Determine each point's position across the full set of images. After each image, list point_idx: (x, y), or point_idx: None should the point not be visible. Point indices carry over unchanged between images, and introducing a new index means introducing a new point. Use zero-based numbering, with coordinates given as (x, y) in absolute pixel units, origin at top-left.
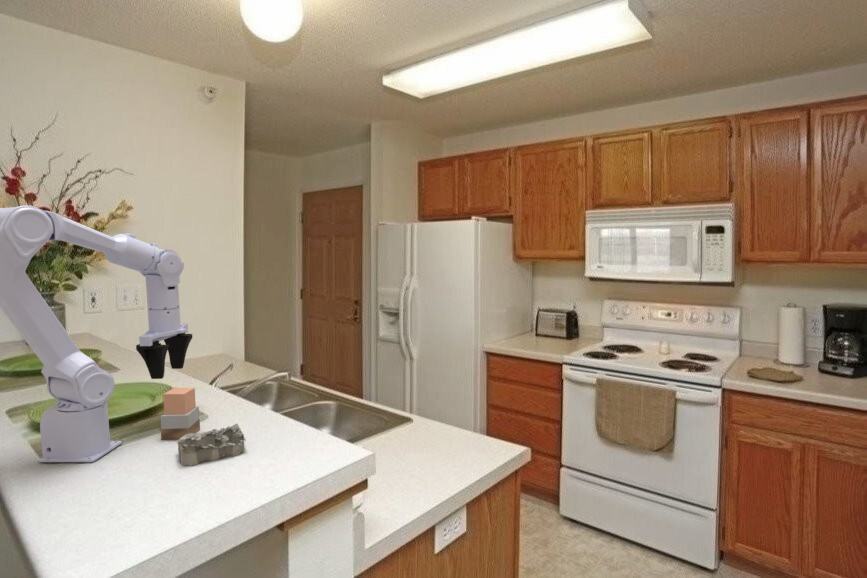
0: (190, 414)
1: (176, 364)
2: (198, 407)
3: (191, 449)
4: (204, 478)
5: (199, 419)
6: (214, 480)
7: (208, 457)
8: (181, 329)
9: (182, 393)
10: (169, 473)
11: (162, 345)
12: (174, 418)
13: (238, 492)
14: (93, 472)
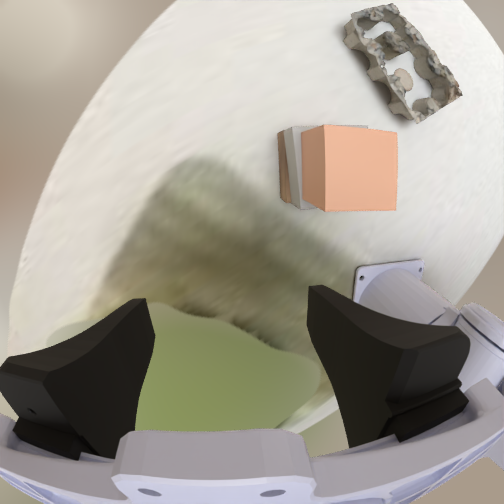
0: (350, 125)
1: (145, 329)
2: (292, 127)
3: (446, 83)
4: (454, 62)
5: (284, 130)
6: (454, 50)
7: (416, 64)
8: (231, 499)
9: (392, 141)
10: (452, 114)
11: (434, 369)
12: None
13: (464, 25)
14: (445, 234)
